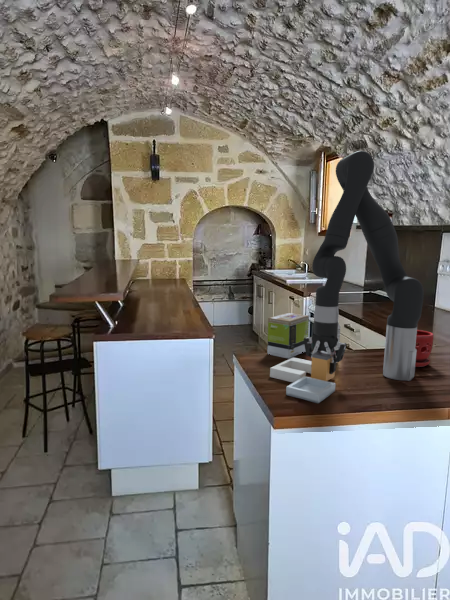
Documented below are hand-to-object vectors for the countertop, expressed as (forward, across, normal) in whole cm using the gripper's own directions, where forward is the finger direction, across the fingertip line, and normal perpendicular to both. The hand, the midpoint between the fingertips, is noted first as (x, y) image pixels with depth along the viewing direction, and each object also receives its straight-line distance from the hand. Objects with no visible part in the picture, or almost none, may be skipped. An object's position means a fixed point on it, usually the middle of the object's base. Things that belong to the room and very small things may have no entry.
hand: (323, 371), depth 138 cm
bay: (+3, +9, 0) cm, 10 cm away
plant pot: (+3, -18, -39) cm, 43 cm away
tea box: (+3, +24, -22) cm, 33 cm away
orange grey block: (+2, 0, 0) cm, 2 cm away
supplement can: (+3, +7, -20) cm, 21 cm away
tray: (+3, -2, +13) cm, 14 cm away
